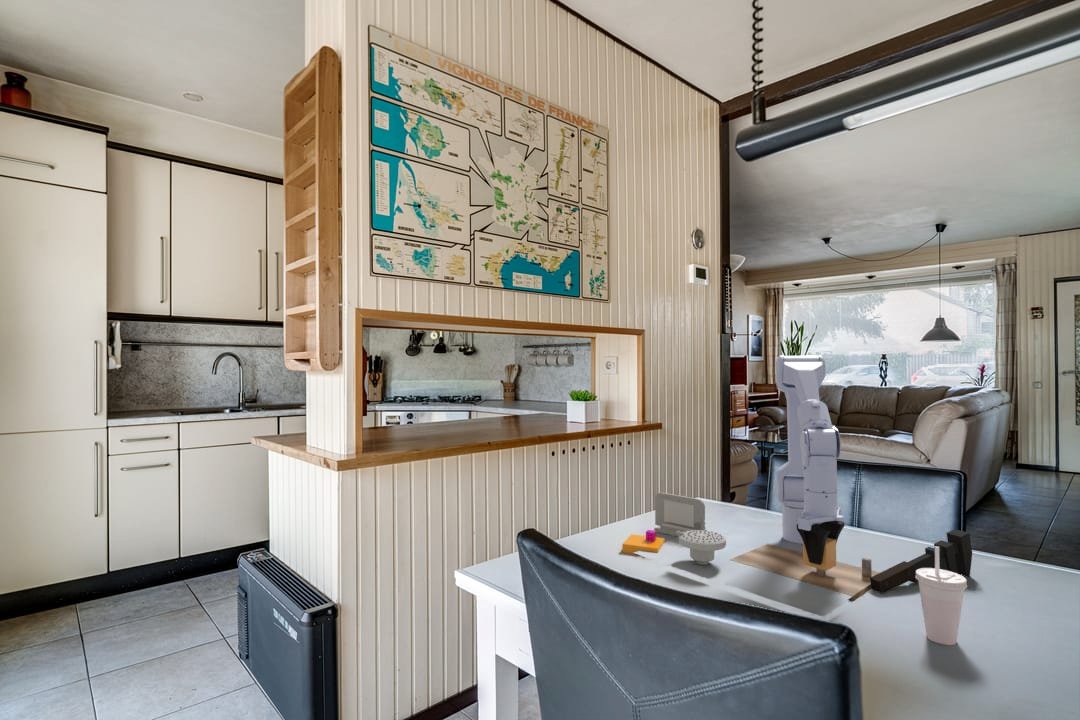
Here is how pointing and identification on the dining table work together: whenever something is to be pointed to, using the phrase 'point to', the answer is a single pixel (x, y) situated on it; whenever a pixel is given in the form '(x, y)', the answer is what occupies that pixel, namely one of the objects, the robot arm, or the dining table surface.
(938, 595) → the smoothie
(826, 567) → the orange wooden toy cube
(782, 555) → the board
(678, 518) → the handheld gaming console
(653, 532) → the orange block with knob
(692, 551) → the showerhead
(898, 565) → the adjustable wrench
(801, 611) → the dining table surface
